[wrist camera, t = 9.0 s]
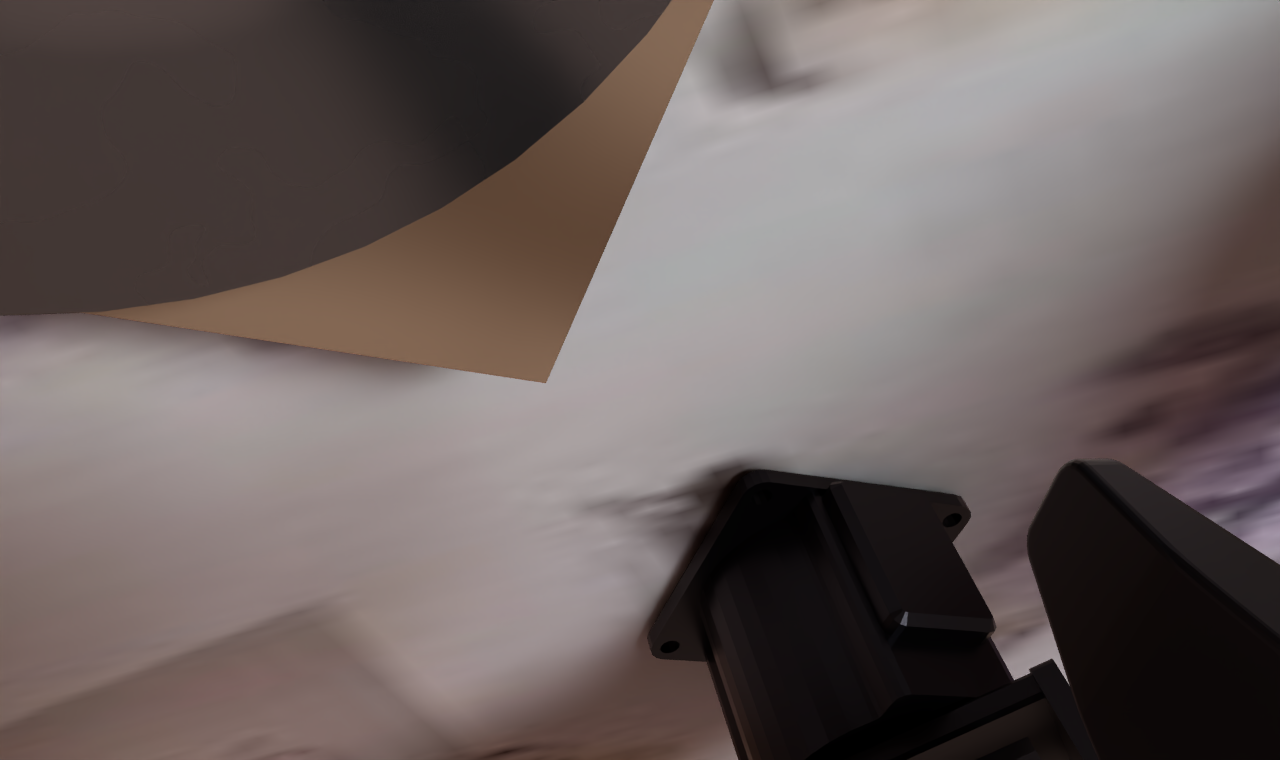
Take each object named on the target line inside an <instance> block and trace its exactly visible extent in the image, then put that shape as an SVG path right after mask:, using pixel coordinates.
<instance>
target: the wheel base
mask: <svg viewBox="0 0 1280 760" xmlns="http://www.w3.org/2000/svg"><path fill="white" fill-rule="evenodd" d="M713 1H714V0H672V1H671V2H670V4H669V5H668V6H667V8H666V9H665V10H664V12H663V13H662V15H661V16H660V17H659V19H658V20H657V21H656V23H655V24H654V25H653V27H652V28H651V30H650V31H649V32H648V34H647V35H646V36H645V37H644V38H643V39H642V40H641V41H640V42H639V43H638V44H637V46H636V47H635V48H634V49H633V50H632V51H631V52H630V53H629V54H628V55H627V56H626V57H625V58H624V59H623V61H622V62H621V63H620V64H619V65H618V66H617V67H616V68H615V69H614V70H613V71H612V72H611V73H610V74H609V76H608V77H607V78H606V79H605V80H604V81H603V82H602V83H601V84H600V85H599V86H598V87H597V88H596V89H595V91H594V92H593V93H592V94H591V95H590V96H589V97H588V98H587V99H586V100H585V101H584V102H583V103H582V104H581V105H580V106H578V107H577V108H576V109H575V110H574V111H573V112H571V113H570V114H569V115H568V116H567V117H565V118H564V119H563V120H562V121H561V122H560V123H558V124H557V125H556V126H555V127H554V128H552V129H551V130H550V131H549V132H548V133H546V134H545V135H544V136H543V137H542V138H541V139H539V140H538V141H537V142H536V143H535V144H533V145H532V146H531V147H530V148H529V149H528V150H526V151H525V152H524V153H523V154H522V155H520V156H519V157H518V158H517V159H516V160H514V161H513V162H511V163H510V164H508V165H507V166H505V167H504V168H502V169H501V170H499V171H497V172H496V173H494V174H493V175H491V176H490V177H488V178H487V179H485V180H484V181H482V182H481V183H479V184H478V185H476V186H475V187H473V188H472V189H470V190H469V191H467V192H466V193H464V194H463V195H461V196H459V197H458V198H456V199H455V200H453V201H452V202H450V203H449V204H447V205H446V206H444V207H443V208H441V209H439V210H437V211H435V212H433V213H431V214H429V215H427V216H425V217H423V218H421V219H419V220H417V221H415V222H413V223H411V224H409V225H407V226H405V227H403V228H401V229H399V230H397V231H395V232H393V233H391V234H389V235H387V236H385V237H383V238H381V239H379V240H377V241H375V242H373V243H371V244H369V245H367V246H365V247H363V248H360V249H357V250H355V251H352V252H349V253H346V254H344V255H341V256H338V257H335V258H333V259H330V260H327V261H325V262H322V263H319V264H316V265H314V266H311V267H308V268H305V269H303V270H300V271H297V272H295V273H292V274H289V275H286V276H284V277H281V278H276V279H272V280H268V281H264V282H260V283H256V284H252V285H248V286H244V287H240V288H236V289H232V290H228V291H224V292H220V293H216V294H212V295H208V296H204V297H200V298H196V299H189V300H182V301H175V302H168V303H161V304H154V305H146V306H139V307H132V308H125V309H118V310H110V311H103V312H83V313H87V314H94V315H100V316H107V317H114V318H120V319H127V320H133V321H140V322H147V323H153V324H160V325H166V326H173V327H179V328H186V329H193V330H199V331H206V332H212V333H219V334H226V335H232V336H239V337H245V338H252V339H259V340H265V341H272V342H278V343H285V344H291V345H298V346H305V347H311V348H318V349H324V350H331V351H338V352H344V353H351V354H357V355H364V356H371V357H377V358H384V359H390V360H397V361H403V362H410V363H417V364H423V365H430V366H436V367H443V368H450V369H456V370H463V371H469V372H476V373H483V374H489V375H496V376H502V377H509V378H515V379H522V380H529V381H535V382H542V383H546V382H547V379H548V377H549V375H550V372H551V370H552V368H553V366H554V363H555V361H556V359H557V356H558V354H559V352H560V350H561V347H562V345H563V343H564V341H565V338H566V336H567V334H568V331H569V329H570V327H571V325H572V322H573V320H574V318H575V315H576V313H577V311H578V309H579V306H580V304H581V302H582V299H583V297H584V295H585V293H586V290H587V288H588V286H589V284H590V281H591V279H592V277H593V274H594V272H595V270H596V268H597V265H598V263H599V261H600V258H601V256H602V254H603V252H604V249H605V247H606V245H607V242H608V240H609V238H610V236H611V233H612V231H613V229H614V227H615V224H616V222H617V220H618V217H619V215H620V213H621V211H622V208H623V206H624V204H625V201H626V199H627V197H628V195H629V192H630V190H631V188H632V185H633V183H634V181H635V179H636V176H637V174H638V172H639V170H640V167H641V165H642V163H643V160H644V158H645V156H646V154H647V151H648V149H649V147H650V144H651V142H652V140H653V138H654V135H655V133H656V131H657V128H658V126H659V124H660V122H661V119H662V117H663V115H664V113H665V110H666V108H667V106H668V103H669V101H670V99H671V97H672V94H673V92H674V90H675V87H676V85H677V83H678V81H679V78H680V76H681V74H682V71H683V69H684V67H685V65H686V62H687V60H688V58H689V55H690V53H691V51H692V49H693V46H694V44H695V42H696V40H697V37H698V35H699V33H700V30H701V28H702V26H703V24H704V21H705V19H706V17H707V14H708V12H709V10H710V8H711V5H712V3H713Z"/></svg>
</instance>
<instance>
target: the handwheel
mask: <svg viewBox="0 0 1280 760" xmlns="http://www.w3.org/2000/svg"><path fill="white" fill-rule="evenodd" d="M671 1H672V0H0V316H6V315H32V314H57V313H83V312H103V311H110V310H118V309H125V308H132V307H139V306H146V305H154V304H161V303H168V302H175V301H182V300H189V299H196V298H200V297H204V296H208V295H212V294H216V293H220V292H224V291H228V290H232V289H236V288H240V287H244V286H248V285H252V284H256V283H260V282H264V281H268V280H272V279H276V278H281V277H284V276H286V275H289V274H292V273H295V272H297V271H300V270H303V269H305V268H308V267H311V266H314V265H316V264H319V263H322V262H325V261H327V260H330V259H333V258H335V257H338V256H341V255H344V254H346V253H349V252H352V251H355V250H357V249H360V248H363V247H365V246H367V245H369V244H371V243H373V242H375V241H377V240H379V239H381V238H383V237H385V236H387V235H389V234H391V233H393V232H395V231H397V230H399V229H401V228H403V227H405V226H407V225H409V224H411V223H413V222H415V221H417V220H419V219H421V218H423V217H425V216H427V215H429V214H431V213H433V212H435V211H437V210H439V209H441V208H443V207H444V206H446V205H447V204H449V203H450V202H452V201H453V200H455V199H456V198H458V197H459V196H461V195H463V194H464V193H466V192H467V191H469V190H470V189H472V188H473V187H475V186H476V185H478V184H479V183H481V182H482V181H484V180H485V179H487V178H488V177H490V176H491V175H493V174H494V173H496V172H497V171H499V170H501V169H502V168H504V167H505V166H507V165H508V164H510V163H511V162H513V161H514V160H516V159H517V158H518V157H519V156H520V155H522V154H523V153H524V152H525V151H526V150H528V149H529V148H530V147H531V146H532V145H533V144H535V143H536V142H537V141H538V140H539V139H541V138H542V137H543V136H544V135H545V134H546V133H548V132H549V131H550V130H551V129H552V128H554V127H555V126H556V125H557V124H558V123H560V122H561V121H562V120H563V119H564V118H565V117H567V116H568V115H569V114H570V113H571V112H573V111H574V110H575V109H576V108H577V107H578V106H580V105H581V104H582V103H583V102H584V101H585V100H586V99H587V98H588V97H589V96H590V95H591V94H592V93H593V92H594V91H595V89H596V88H597V87H598V86H599V85H600V84H601V83H602V82H603V81H604V80H605V79H606V78H607V77H608V76H609V74H610V73H611V72H612V71H613V70H614V69H615V68H616V67H617V66H618V65H619V64H620V63H621V62H622V61H623V59H624V58H625V57H626V56H627V55H628V54H629V53H630V52H631V51H632V50H633V49H634V48H635V47H636V46H637V44H638V43H639V42H640V41H641V40H642V39H643V38H644V37H645V36H646V35H647V34H648V32H649V31H650V30H651V28H652V27H653V25H654V24H655V23H656V21H657V20H658V19H659V17H660V16H661V15H662V13H663V12H664V10H665V9H666V8H667V6H668V5H669V4H670V2H671Z"/></svg>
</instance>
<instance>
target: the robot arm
mask: <svg viewBox="0 0 1280 760" xmlns="http://www.w3.org/2000/svg"><path fill="white" fill-rule="evenodd" d="M760 490H761V491H760ZM758 491H759V492H758ZM970 517H971V512H970V510H969V508H968V506H967V505H966V503H965V501H964V500H963V498H962V497H961V496H958V495H954V494H946V493H939V492H931V491H923V490H916V489H908V488H901V487H893V486H885V485H878V484H870V483H862V482H855V481H847V480H839V479H832V478H824V477H817V476H809V475H801V474H794V473H786V472H778V471H771V470H756V471H753V472H750V473H748V474H747V475H745V476H743V477H742V478H741V480H740V481H739V482H738V483H737V485H736V486H735V488H734V490H733V492H732V493H731V495H730V497H729V498H728V500H727V502H726V503H725V505H724V507H723V508H722V510H721V512H720V514H719V515H718V517H717V519H716V520H715V522H714V524H713V525H712V527H711V529H710V530H709V532H708V534H707V536H706V537H705V539H704V541H703V542H702V544H701V546H700V547H699V549H698V551H697V552H696V554H695V556H694V558H693V559H692V561H691V563H690V564H689V566H688V568H687V569H686V571H685V573H684V574H683V576H682V578H681V580H680V581H679V583H678V585H677V586H676V588H675V590H674V591H673V593H672V595H671V596H670V598H669V600H668V602H667V603H666V605H665V607H664V608H663V610H662V612H661V613H660V615H659V617H658V618H657V620H656V622H655V624H654V625H653V627H652V629H651V630H650V632H649V634H648V637H647V639H648V642H649V646H650V649H651V652H652V655H653V656H655V657H656V658H660V659H669V660H687V661H706V662H707V665H708V668H709V671H710V674H711V677H712V680H713V683H714V686H715V689H716V692H717V696H718V699H719V702H720V705H721V708H722V711H723V714H724V717H725V720H726V723H727V726H728V729H729V732H730V735H731V739H732V742H733V745H734V748H735V751H736V754H737V757H738V760H1280V565H1279V564H1278V563H1276V562H1275V561H1273V560H1272V559H1270V558H1269V557H1267V556H1265V555H1264V554H1262V553H1261V552H1259V551H1258V550H1256V549H1255V548H1253V547H1251V546H1250V545H1248V544H1247V543H1245V542H1244V541H1242V540H1241V539H1239V538H1238V537H1236V536H1234V535H1233V534H1231V533H1230V532H1228V531H1227V530H1225V529H1224V528H1222V527H1220V526H1219V525H1217V524H1216V523H1214V522H1213V521H1211V520H1210V519H1208V518H1207V517H1205V516H1203V515H1202V514H1200V513H1199V512H1197V511H1196V510H1194V509H1193V508H1191V507H1189V506H1188V505H1186V504H1185V503H1183V502H1182V501H1180V500H1179V499H1177V498H1176V497H1174V496H1172V495H1171V494H1169V493H1168V492H1166V491H1165V490H1163V489H1162V488H1160V487H1158V486H1157V485H1155V484H1154V483H1152V482H1151V481H1149V480H1148V479H1146V478H1145V477H1143V476H1141V475H1140V474H1138V473H1137V472H1135V471H1134V470H1132V469H1131V468H1129V467H1128V466H1126V465H1124V464H1123V463H1121V462H1119V461H1116V460H1112V459H1075V460H1071V461H1069V462H1067V463H1066V464H1065V465H1063V466H1062V467H1061V468H1060V470H1059V471H1058V473H1057V475H1056V476H1055V478H1054V480H1053V482H1052V484H1051V486H1050V488H1049V490H1048V492H1047V494H1046V496H1045V497H1044V499H1043V501H1042V503H1041V505H1040V507H1039V509H1038V511H1037V513H1036V515H1035V517H1034V519H1033V520H1032V522H1031V525H1030V527H1029V530H1028V535H1027V550H1028V556H1029V560H1030V563H1031V566H1032V570H1033V573H1034V576H1035V579H1036V582H1037V585H1038V588H1039V591H1040V594H1041V598H1042V601H1043V604H1044V607H1045V610H1046V613H1047V616H1048V619H1049V622H1050V626H1051V629H1052V632H1053V635H1054V638H1055V641H1056V644H1057V647H1058V650H1059V654H1060V657H1061V660H1062V663H1063V666H1064V669H1065V672H1066V675H1067V679H1068V682H1069V684H1068V683H1067V681H1066V679H1065V678H1064V676H1063V675H1062V673H1061V671H1060V670H1059V668H1058V667H1057V665H1056V664H1055V662H1054V660H1053V659H1050V660H1048V661H1046V662H1043V663H1041V664H1039V665H1037V666H1035V667H1032V668H1030V669H1029V670H1030V674H1028V675H1025V676H1023V677H1021V678H1019V679H1016V680H1014V679H1013V678H1012V676H1011V674H1010V672H1009V670H1008V668H1007V666H1006V665H1005V663H1004V661H1003V659H1002V657H1001V655H1000V654H999V652H998V650H997V648H996V646H995V644H994V642H993V641H992V639H991V637H990V636H991V635H992V634H993V633H994V631H995V629H996V624H995V621H994V618H993V616H992V614H991V612H990V610H989V608H988V607H987V605H986V603H985V601H984V599H983V597H982V596H981V594H980V592H979V590H978V588H977V587H976V585H975V583H974V581H973V579H972V578H971V576H970V574H969V572H968V570H967V568H966V567H965V565H964V563H963V561H962V559H961V558H960V556H959V554H958V552H957V550H956V549H955V547H954V545H953V541H954V540H955V539H956V537H957V536H958V535H959V533H960V532H961V531H962V529H963V528H964V527H965V525H966V524H967V523H968V521H969V519H970ZM1069 685H1070V686H1069Z"/></svg>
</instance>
